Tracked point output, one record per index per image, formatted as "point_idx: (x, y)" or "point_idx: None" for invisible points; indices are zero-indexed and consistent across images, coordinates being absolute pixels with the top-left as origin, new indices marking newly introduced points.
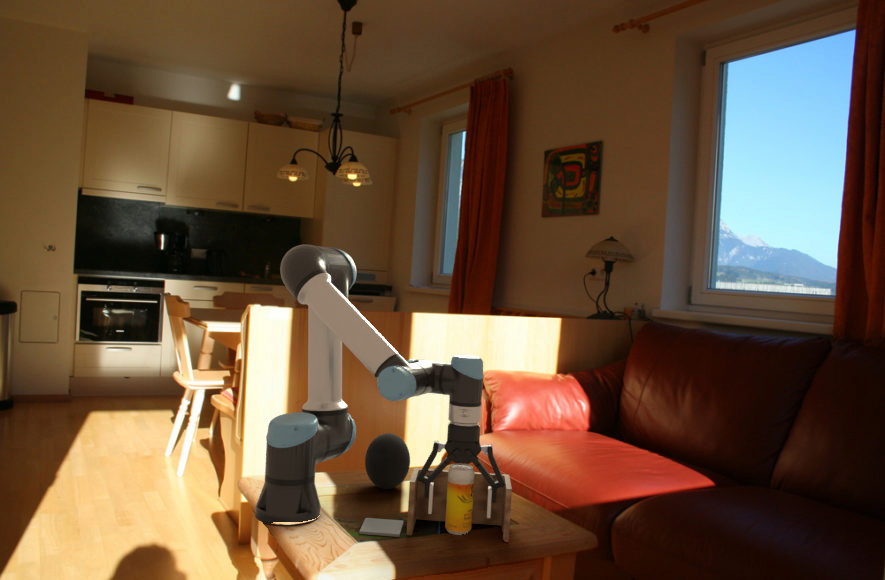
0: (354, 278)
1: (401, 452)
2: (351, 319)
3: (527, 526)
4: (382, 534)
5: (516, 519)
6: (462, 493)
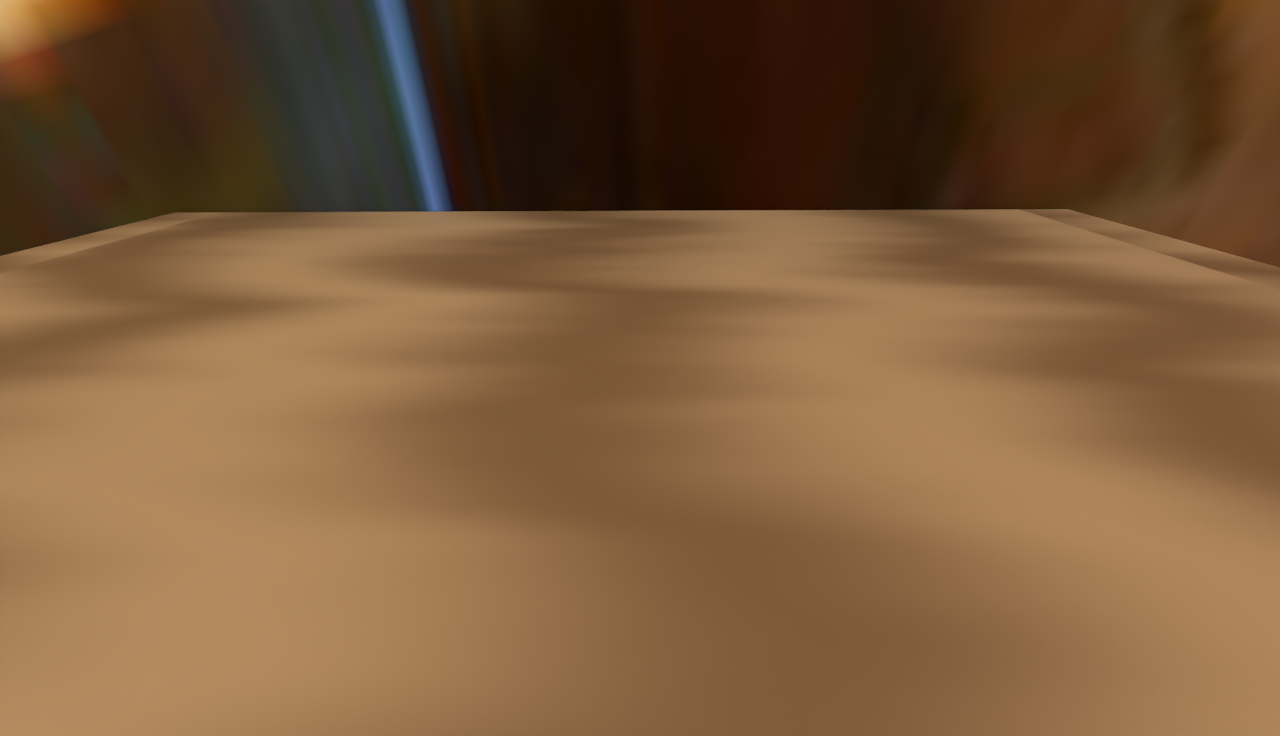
0: None
1: None
2: None
3: (1262, 222)
4: None
5: (1273, 11)
6: None
